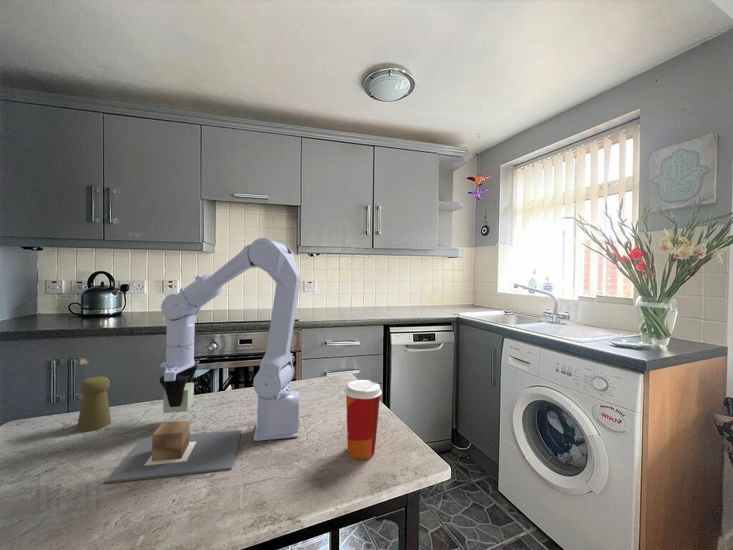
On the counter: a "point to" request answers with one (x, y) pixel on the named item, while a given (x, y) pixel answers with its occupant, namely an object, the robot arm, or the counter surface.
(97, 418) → the cork
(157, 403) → the counter surface
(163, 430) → the walnut block
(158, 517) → the counter surface
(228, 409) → the counter surface
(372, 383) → the paper cup
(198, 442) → the mat
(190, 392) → the sage block
